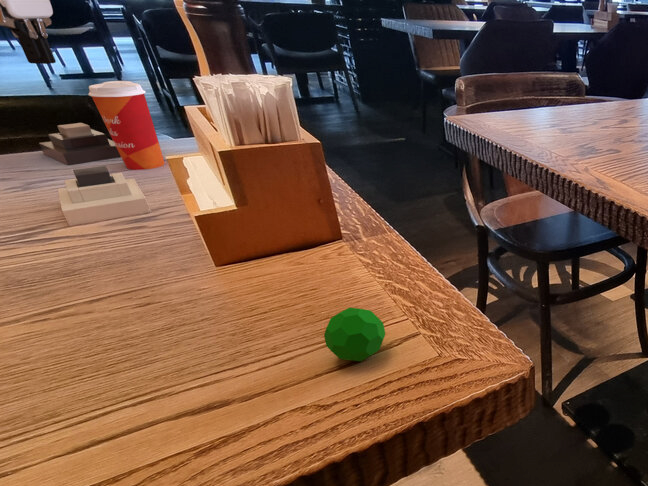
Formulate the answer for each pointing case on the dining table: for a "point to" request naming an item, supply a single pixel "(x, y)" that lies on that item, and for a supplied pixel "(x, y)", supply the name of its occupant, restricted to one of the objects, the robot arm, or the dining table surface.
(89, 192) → the front block
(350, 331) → the polyhedron
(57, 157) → the block
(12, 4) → the robot arm
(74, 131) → the back key
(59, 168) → the dining table surface
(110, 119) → the paper cup
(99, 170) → the front key
